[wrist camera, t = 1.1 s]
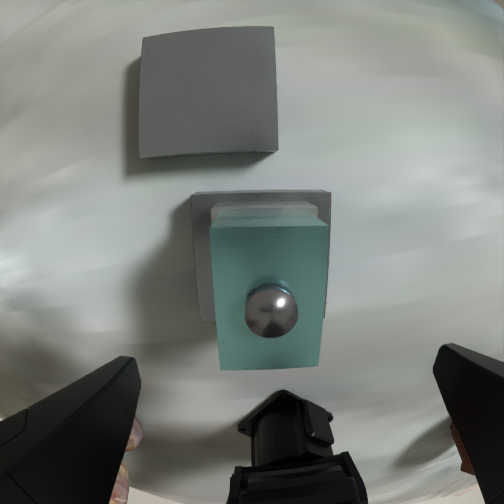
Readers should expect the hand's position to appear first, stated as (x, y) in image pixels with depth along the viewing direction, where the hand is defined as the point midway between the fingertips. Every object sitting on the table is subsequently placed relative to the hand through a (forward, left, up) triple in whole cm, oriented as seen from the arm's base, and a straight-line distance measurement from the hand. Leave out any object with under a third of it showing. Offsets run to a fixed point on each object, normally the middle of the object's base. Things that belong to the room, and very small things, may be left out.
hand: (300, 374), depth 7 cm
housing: (0, 0, -11) cm, 11 cm away
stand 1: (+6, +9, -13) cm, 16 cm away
